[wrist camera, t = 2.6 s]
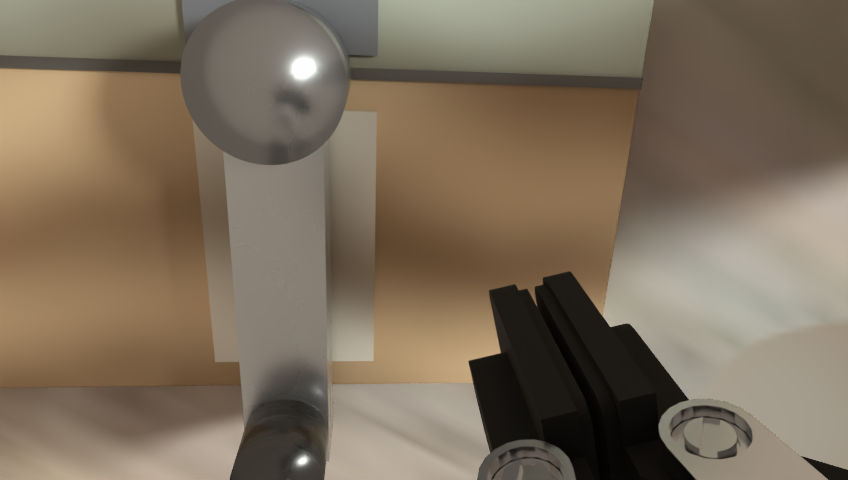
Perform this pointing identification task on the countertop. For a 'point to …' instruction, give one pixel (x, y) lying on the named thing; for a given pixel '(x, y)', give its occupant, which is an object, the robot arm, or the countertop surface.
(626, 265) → the countertop surface
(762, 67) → the countertop surface
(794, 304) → the countertop surface
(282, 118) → the arm
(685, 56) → the countertop surface
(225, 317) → the lock board
